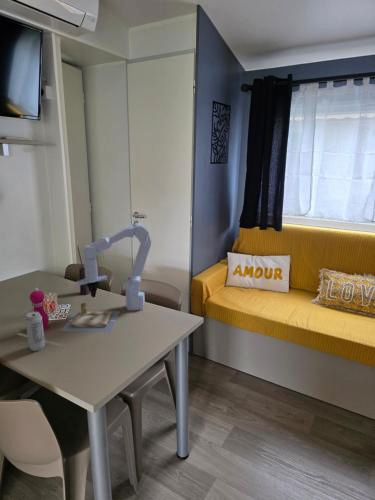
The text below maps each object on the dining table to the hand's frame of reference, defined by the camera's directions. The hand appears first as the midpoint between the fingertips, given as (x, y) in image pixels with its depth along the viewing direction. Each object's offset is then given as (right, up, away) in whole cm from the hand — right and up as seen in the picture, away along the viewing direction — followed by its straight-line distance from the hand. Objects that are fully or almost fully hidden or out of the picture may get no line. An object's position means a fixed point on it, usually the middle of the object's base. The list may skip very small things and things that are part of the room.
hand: (93, 296), depth 163 cm
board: (+1, -11, -6) cm, 13 cm away
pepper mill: (-20, -13, -12) cm, 27 cm away
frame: (+1, -11, -6) cm, 12 cm away
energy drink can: (-15, -17, -27) cm, 35 cm away
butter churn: (-12, -2, +28) cm, 31 cm away
